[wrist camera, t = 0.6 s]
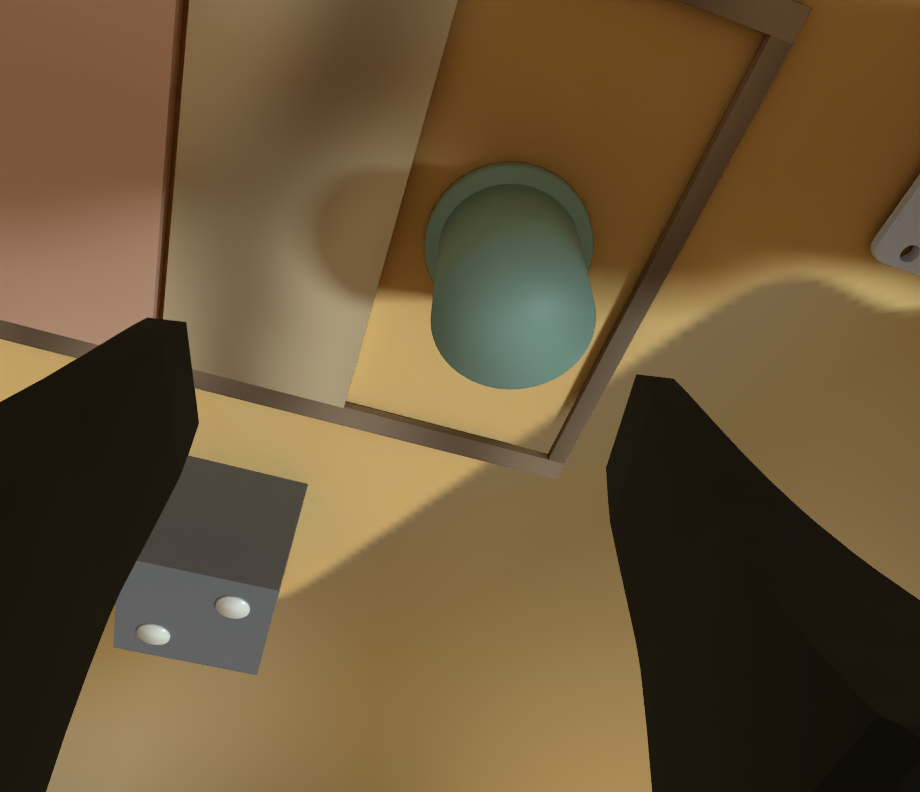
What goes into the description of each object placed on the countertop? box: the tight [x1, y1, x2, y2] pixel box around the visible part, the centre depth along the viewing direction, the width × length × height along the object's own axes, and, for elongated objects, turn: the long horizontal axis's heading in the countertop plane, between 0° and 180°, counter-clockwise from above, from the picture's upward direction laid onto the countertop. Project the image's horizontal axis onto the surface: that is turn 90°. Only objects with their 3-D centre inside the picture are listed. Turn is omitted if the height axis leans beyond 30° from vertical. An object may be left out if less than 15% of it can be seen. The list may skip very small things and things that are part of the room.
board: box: [0, 0, 812, 479], centre depth 20 cm, size 21×16×1 cm
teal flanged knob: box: [425, 162, 596, 389], centre depth 20 cm, size 5×5×4 cm
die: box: [114, 456, 308, 675], centre depth 26 cm, size 5×5×5 cm
